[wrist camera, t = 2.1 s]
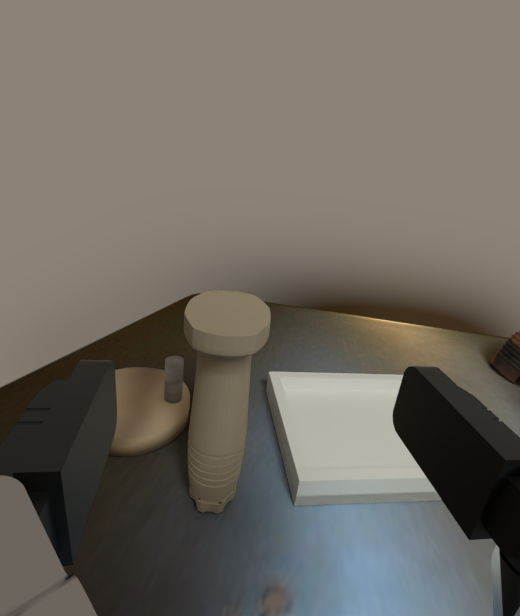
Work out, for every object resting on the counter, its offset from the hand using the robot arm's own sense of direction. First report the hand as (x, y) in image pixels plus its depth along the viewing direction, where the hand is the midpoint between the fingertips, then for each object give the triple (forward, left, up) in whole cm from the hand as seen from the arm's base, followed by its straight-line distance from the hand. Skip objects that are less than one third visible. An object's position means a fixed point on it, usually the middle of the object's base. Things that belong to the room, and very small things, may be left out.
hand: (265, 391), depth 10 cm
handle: (0, +11, -18) cm, 21 cm away
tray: (+14, +17, -18) cm, 28 cm away
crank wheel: (-7, +20, -18) cm, 28 cm away
